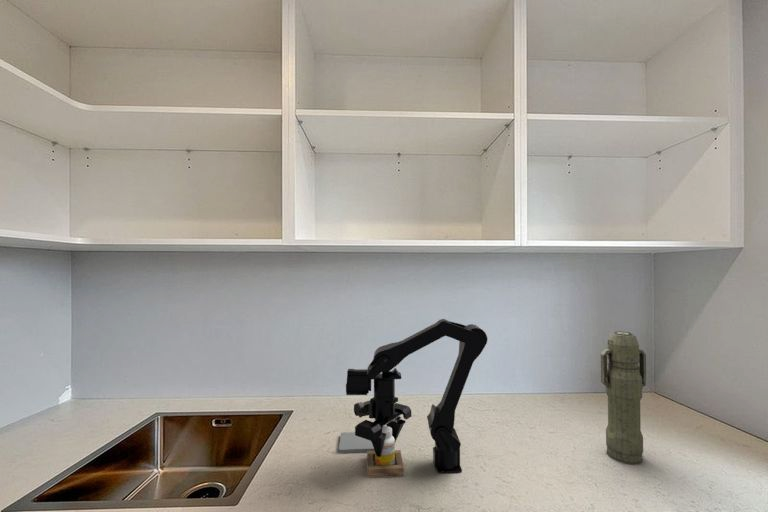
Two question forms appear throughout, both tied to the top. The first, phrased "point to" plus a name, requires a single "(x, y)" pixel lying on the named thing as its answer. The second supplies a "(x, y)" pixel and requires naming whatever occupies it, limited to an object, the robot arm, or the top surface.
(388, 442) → the supplement bottle
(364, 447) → the mat
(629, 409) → the thermos
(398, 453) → the holder
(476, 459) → the top surface
